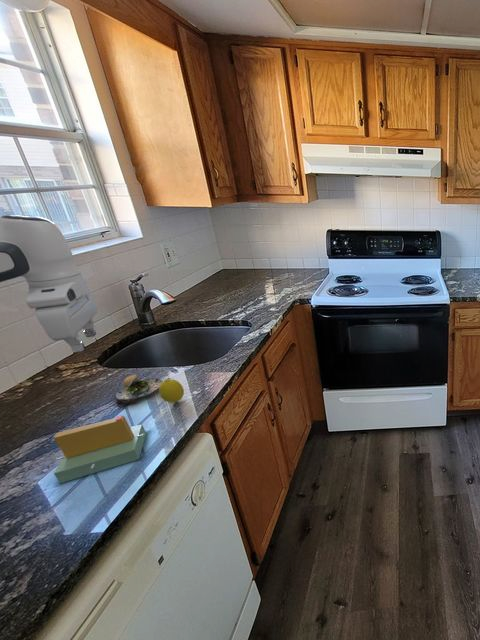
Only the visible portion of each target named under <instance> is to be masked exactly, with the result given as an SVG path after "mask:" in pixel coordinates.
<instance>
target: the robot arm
mask: <svg viewBox="0 0 480 640" xmlns="http://www.w3.org/2000/svg"><path fill="white" fill-rule="evenodd" d="M20 277H21V278H22V277H23V278H24V280H25V281H26V283H27V285H28V292H27V295H26V298H25V303H26V305H27V307H28V308H29V309H34V313H35V316H36V318H37V320H38V322H39V324H40V325H41V327H42V329H43V330H44V332H45V333H46V335H47V336H48V338H49V339H51V340H52V341H55V342H57V341H64V342H65V343H67V345H69V346H70V347H71V349H72V352H73V353H78V352H83V351H84V350H85V348H86V346H85V344H84V341H81V340H80V339H79V332H80V331H81V330H83V334H84V336H85V337H86V338H94V337H95V336H96V335H97V330H96V329H95V323H94V318H93V317H94V316H95V315H96V314H97V313H98V307H97V305H96V303H95V301H94V299H93V297H92V295H91V293H90V291H89V288H88V286H87V284H86V281H85V279H84V277H83V274H82V272H81V270H80V269H79V268H78V267H77V266H76V264H75V263H74V258H73V252H72V250H71V248H70V246H69V244H68V242H67V240H66V238H65V236H64V235H63V233H62V231H61V229H60V228H59V227H58V225H57V224H55V223H54V222H53V221H51V220H50V219H48V218H45V217H42V216H37V215H28V214H27V215H25V214H7V215H2V216H0V283H3V282H5V281H6V282H7V281H10V280H13V279H16V278H20Z"/></svg>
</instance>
